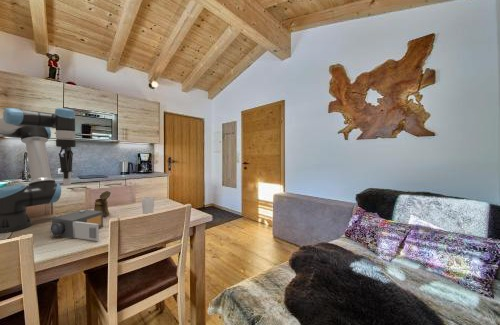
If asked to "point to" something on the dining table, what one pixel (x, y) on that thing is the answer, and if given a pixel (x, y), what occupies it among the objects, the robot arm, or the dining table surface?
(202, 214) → the dining table surface
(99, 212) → the camera housing
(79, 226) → the side door
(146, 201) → the drinking glass
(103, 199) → the brown irregular piece
